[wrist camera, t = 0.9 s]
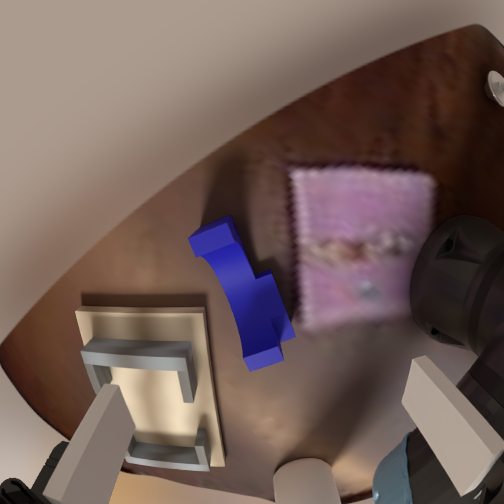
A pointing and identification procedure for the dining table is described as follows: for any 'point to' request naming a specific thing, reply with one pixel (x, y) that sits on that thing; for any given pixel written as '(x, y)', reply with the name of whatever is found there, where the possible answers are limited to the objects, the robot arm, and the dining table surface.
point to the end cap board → (158, 380)
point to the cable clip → (245, 293)
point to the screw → (495, 87)
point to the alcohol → (305, 483)
